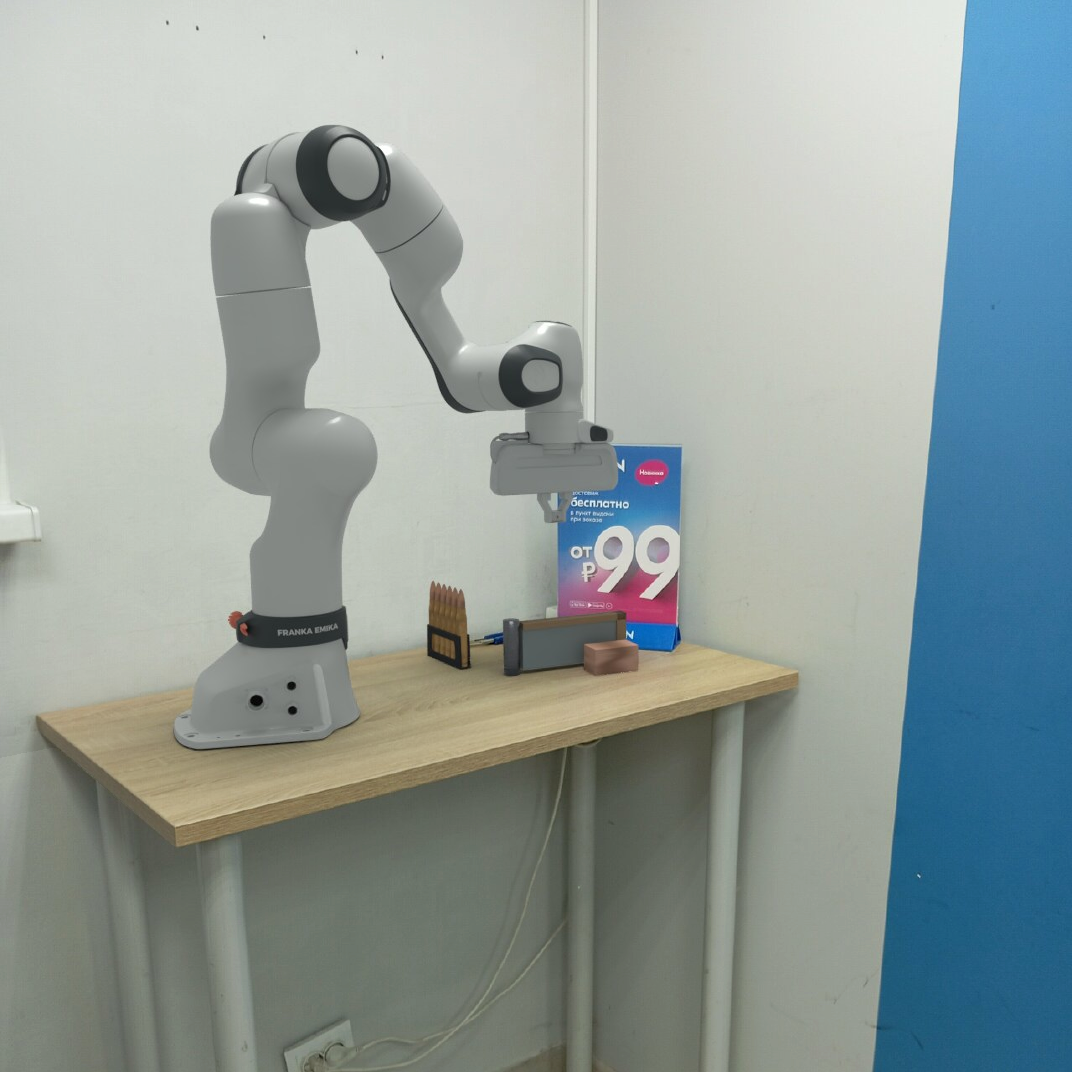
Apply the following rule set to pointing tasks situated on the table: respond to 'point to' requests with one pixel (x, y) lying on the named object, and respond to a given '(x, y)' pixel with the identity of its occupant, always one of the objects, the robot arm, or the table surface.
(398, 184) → the robot arm
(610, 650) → the block
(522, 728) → the table surface
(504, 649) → the hinge post
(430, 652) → the ammunition clip
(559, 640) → the gate
